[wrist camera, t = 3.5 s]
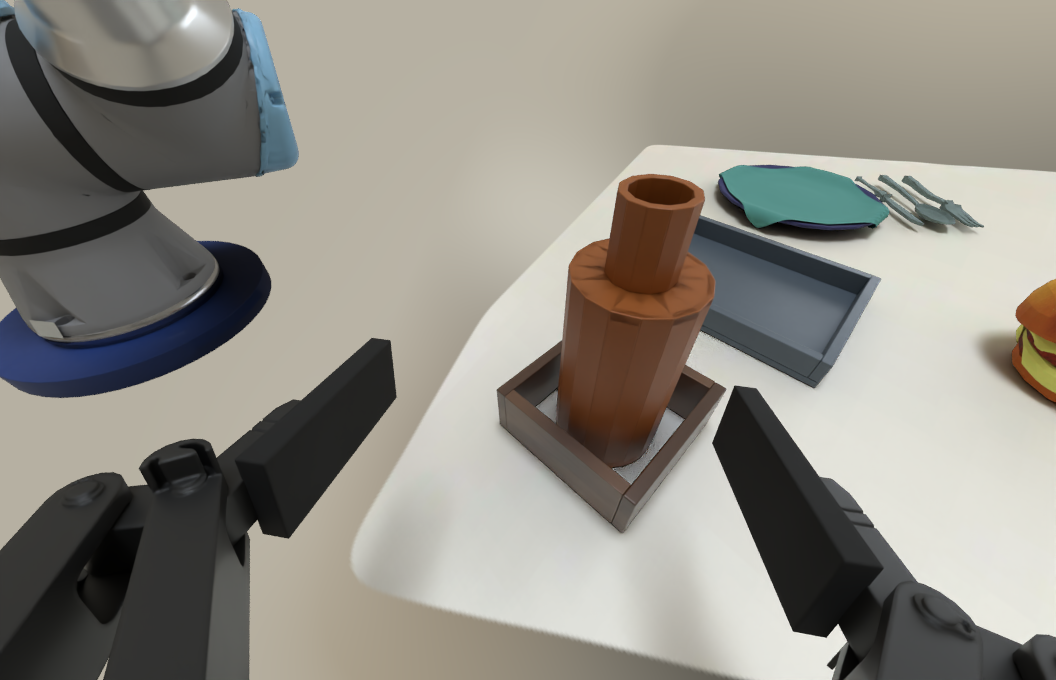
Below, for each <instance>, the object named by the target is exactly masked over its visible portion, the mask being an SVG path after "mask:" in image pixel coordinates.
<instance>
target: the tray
mask: <svg viewBox="0 0 1056 680" xmlns="http://www.w3.org/2000/svg"><path fill="white" fill-rule="evenodd" d="M688 252H689V253H691V254H692V255H693V256H695V257H696V258H697V259H699V260H700V261H701V262H703V263H704V264H705V265H706V266H707V267H708V269H709V271H710V272H711V274H712V276H713V277H714V279H715V281H716V283H715V294H714V299H713V301H712V303H711V306H710V308H709V310H708V313H707V315H706V317H705V320H704V322H703V324H702V327H701V329H700V330H702V331H704V332H706V333H708V334H710V335H711V336H713V337H715V338H717V339H719V340H721V341H723V342H725V343H727V344H729V345H731V346H733V347H735V348H737V349H739V350H741V351H743V352H745V353H747V354H749V355H751V356H753V357H755V358H757V359H759V360H761V361H763V362H764V363H766V364H768V365H770V366H772V367H774V368H776V369H778V370H780V371H782V372H784V373H786V374H788V375H790V376H792V377H794V378H796V379H798V380H800V381H802V382H804V383H806V384H808V385H810V386H812V387H814V388H815V387H816V386H817V385H818V383H819V382H820V381H821V380H822V379H823V377H824V376H825V375H826V374H827V373H828V372H829V370H830V369H831V368H832V367H833V365H834V363H835V362H836V360H837V358H838V356H839V354H840V353H841V351H842V349H843V347H844V345H845V344H846V342H847V340H848V338H849V336H850V335H851V333H852V331H853V329H854V327H855V326H856V324H857V322H858V320H859V318H860V317H861V315H862V313H863V311H864V309H865V308H866V306H867V304H868V302H869V300H870V299H871V297H872V295H873V293H874V291H875V290H876V288H877V286H878V284H879V282H880V281H881V278H879V277H876V276H873V275H871V274H868V273H865V272H862V271H859V270H857V269H854V268H851V267H848V266H845V265H842V264H839V263H836V262H834V261H831V260H828V259H825V258H822V257H819V256H816V255H813V254H810V253H808V252H805V251H802V250H799V249H796V248H793V247H790V246H787V245H784V244H782V243H779V242H776V241H773V240H770V239H767V238H764V237H761V236H759V235H756V234H753V233H750V232H747V231H744V230H741V229H738V228H735V227H733V226H730V225H727V224H724V223H721V222H718V221H715V220H712V219H710V218H707V217H704V216H701V215H700V216H699V219H698V222H697V225H696V228H695V231H694V234H693V237H692V240H691V243H690V246H689V249H688Z"/></svg>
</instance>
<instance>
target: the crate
mask: <svg viewBox="0 0 1056 680" xmlns="http://www.w3.org/2000/svg"><path fill="white" fill-rule="evenodd" d="M561 350H562V341H560V342H559V343H558V344H556V345H555V346H554V347H553V348H551V349H550V350H549V351H547V352H546V353H545V354H543V355H542V356H541V357H539V358H538V359H537V360H535V361H534V362H533V363H531V364H530V365H529V366H527V367H526V368H525V369H523V370H522V371H521V372H519V373H518V374H517V375H515V376H514V377H513V378H512V379H510V380H509V381H508V382H506V383H505V384H504V385H502V386H501V387H500V388H498V389H497V397H498V407H499V418H500V424H501V425H502V426H503V427H504V428H505V429H507V430H508V431H509V432H510V433H511V434H512V435H513V436H514V437H515V438H516V439H517V440H519V441H520V442H521V443H522V444H523V445H524V446H525V447H526V448H527V449H529V450H530V451H531V452H532V453H533V454H534V455H535V456H536V457H537V458H539V459H540V460H541V461H542V462H543V463H544V464H545V465H546V466H547V467H549V468H550V469H551V470H552V471H553V472H554V473H555V474H556V475H557V476H559V477H560V478H561V479H562V480H563V481H564V482H565V483H566V484H568V485H569V486H570V487H571V488H572V489H573V490H574V491H575V492H576V493H578V494H579V495H580V496H581V497H582V498H583V499H584V500H585V501H586V502H588V503H589V504H590V505H591V506H592V507H593V508H594V509H595V510H596V511H598V512H599V513H600V514H601V515H602V516H603V517H604V518H605V519H606V520H608V521H609V522H610V523H612V525H614V526H615V527H616V528H617V529H618V530H619V531H620V532H621V533H623V532H624V531H625V530H626V528H627V527H628V526H629V524H630V523H631V522H632V520H633V519H634V518H635V516H636V515H637V514H638V512H639V511H640V510H641V509H642V507H643V506H644V505H645V503H646V502H647V501H648V499H649V498H650V497H651V495H652V494H653V493H654V492H655V490H656V489H657V488H658V486H659V485H660V484H661V482H662V481H663V480H664V478H665V477H666V476H667V474H668V473H669V472H670V471H671V469H672V468H673V467H674V465H675V464H676V463H677V461H678V460H679V459H680V457H681V456H682V455H683V454H684V452H685V451H686V450H687V448H688V447H689V446H690V444H691V443H692V442H693V440H694V439H695V438H696V437H697V435H698V434H699V433H700V431H701V430H702V429H703V427H704V426H705V425H706V423H707V422H708V420H709V418H710V417H711V415H712V413H713V412H714V410H715V408H716V407H717V405H718V403H719V401H720V400H721V398H722V396H723V395H724V393H725V391H726V388H724V387H723V386H721V385H719V384H717V383H715V382H714V381H713V380H711V379H709V378H707V377H706V376H704V375H702V374H700V373H699V372H697V371H695V370H693V369H692V368H690V367H688V366H686V365H685V366H684V368H683V370H682V373H681V375H680V377H679V380H678V382H677V384H676V387H675V389H674V391H673V394H672V396H671V398H670V401H669V403H668V405H667V407H668V408H670V409H671V410H673V411H674V412H676V413H677V414H679V415H680V416H682V417H683V418H685V420H684V421H683V422H682V423H681V425H680V426H679V427H678V428H677V430H676V431H675V432H674V433H673V434H672V436H671V437H670V438H669V439H668V441H667V442H666V443H665V444H664V445H663V447H662V448H661V449H660V450H659V452H658V453H657V454H656V455H655V456H654V458H653V459H652V460H651V461H650V463H649V464H648V465H647V466H646V467H645V469H644V470H643V471H642V472H641V474H640V475H639V476H638V477H637V478H636V480H635V481H634V482H633V483H632V485H631V484H630V483H628V482H627V481H626V480H625V479H623V478H622V477H621V476H620V475H619V474H617V473H616V472H615V471H614V470H612V469H611V468H610V467H609V466H607V465H606V464H605V463H604V462H602V461H601V460H600V459H599V458H597V457H596V456H595V455H594V454H593V453H591V452H590V451H589V450H588V449H586V448H585V447H584V446H583V445H581V444H580V443H579V442H578V441H576V440H575V439H574V438H573V437H572V436H570V435H569V434H568V433H567V432H565V431H564V430H563V429H562V428H560V427H559V426H558V425H557V424H555V423H554V422H553V421H552V420H551V419H549V418H548V417H547V416H546V415H544V414H543V413H542V412H541V411H539V410H538V409H537V408H536V407H535V406H536V405H537V404H539V403H540V402H541V401H542V400H543V399H545V398H546V397H547V396H548V395H549V394H550V393H552V392H553V391H554V390H555V389H556V388H558V385H559V374H560V362H561Z"/></svg>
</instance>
